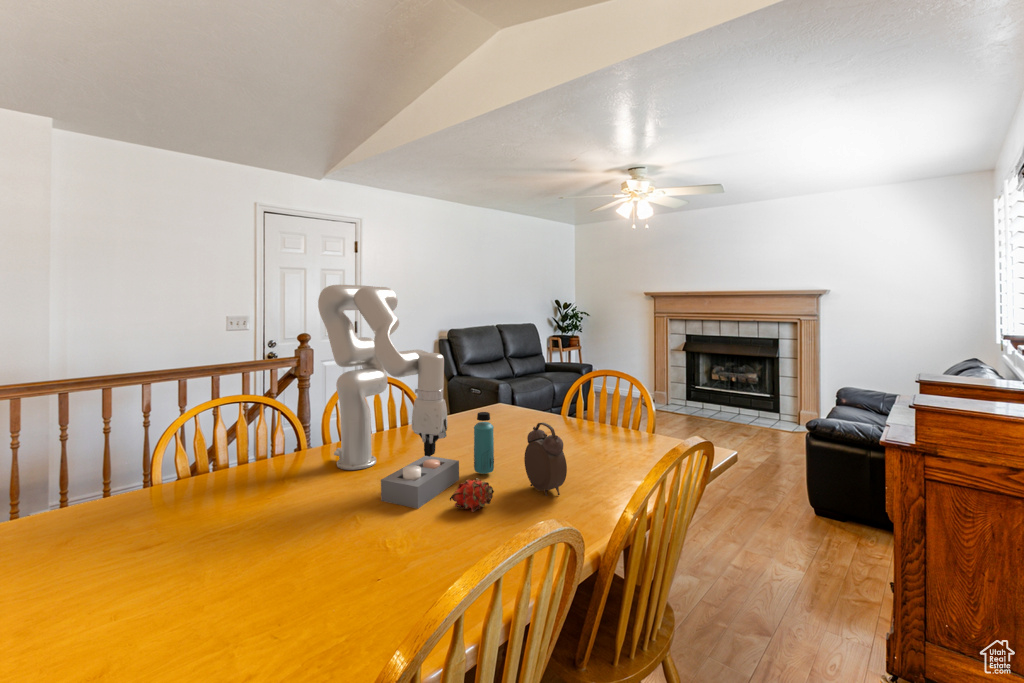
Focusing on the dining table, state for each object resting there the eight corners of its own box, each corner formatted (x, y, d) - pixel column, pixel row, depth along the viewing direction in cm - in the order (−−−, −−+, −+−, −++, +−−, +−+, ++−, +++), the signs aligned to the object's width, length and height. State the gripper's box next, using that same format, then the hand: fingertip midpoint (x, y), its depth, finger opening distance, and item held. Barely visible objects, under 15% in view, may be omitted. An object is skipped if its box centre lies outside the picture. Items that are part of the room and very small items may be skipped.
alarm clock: (570, 497, 132) (571, 428, 130) (549, 502, 129) (550, 431, 127) (542, 480, 145) (542, 416, 143) (521, 484, 141) (522, 419, 139)
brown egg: (419, 476, 140) (419, 463, 139) (429, 471, 144) (429, 458, 144) (434, 479, 138) (434, 466, 138) (443, 473, 142) (443, 460, 142)
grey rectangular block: (381, 500, 129) (380, 479, 128) (425, 473, 149) (425, 455, 149) (418, 508, 124) (417, 486, 124) (459, 479, 145) (459, 460, 144)
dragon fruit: (497, 512, 126) (453, 524, 123) (489, 485, 132) (447, 495, 129) (498, 496, 120) (452, 507, 117) (490, 468, 126) (445, 478, 123)
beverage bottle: (491, 479, 145) (491, 415, 143) (470, 477, 146) (470, 414, 145) (496, 471, 152) (496, 410, 150) (476, 470, 153) (476, 409, 151)
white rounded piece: (399, 484, 131) (399, 470, 130) (409, 477, 135) (409, 464, 135) (414, 487, 129) (414, 473, 128) (424, 480, 133) (424, 467, 133)
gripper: (402, 394, 138) (401, 454, 140) (445, 400, 133) (444, 463, 135) (416, 389, 145) (415, 447, 147) (459, 395, 140) (457, 455, 142)
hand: (429, 454), depth 141 cm, fingers closed
